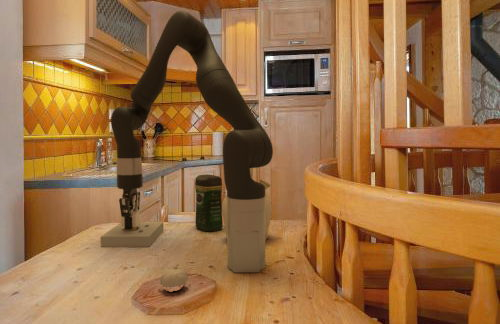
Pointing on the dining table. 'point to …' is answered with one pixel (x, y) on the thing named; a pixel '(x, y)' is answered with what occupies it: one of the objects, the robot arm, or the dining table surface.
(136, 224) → the plug
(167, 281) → the garlic
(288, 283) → the dining table surface
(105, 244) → the socket
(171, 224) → the dining table surface
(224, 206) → the jug
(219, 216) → the coffee jar
